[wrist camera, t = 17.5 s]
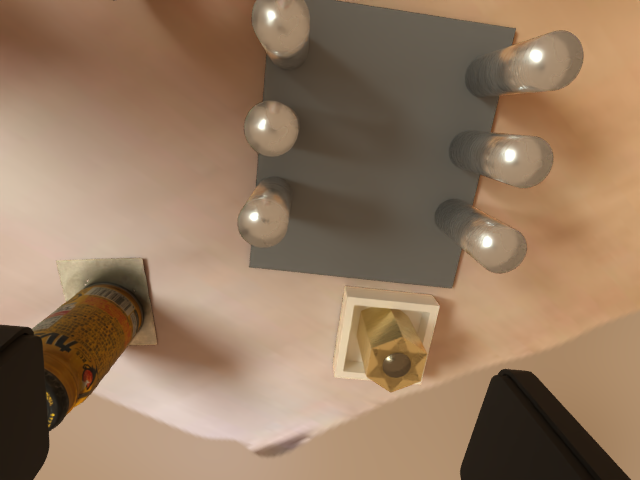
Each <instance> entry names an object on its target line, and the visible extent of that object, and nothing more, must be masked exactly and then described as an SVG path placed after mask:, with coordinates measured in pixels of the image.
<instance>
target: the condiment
mask: <svg viewBox="0 0 640 480" xmlns="http://www.w3.org/2000/svg"><path fill="white" fill-rule="evenodd" d="M56 263H57V268H58V272H59V275H60V281H61V285H62V288H63V293H64V296H65V300H66V303H64V304H63V305H61V307H59V308H58V309H57V310H56V311H54V312H53V313H52V314H51V315H49V316H48V317H47V318H46V319H44V320H43V321H42V322H40V323H39V324H37V325H36V326H35V327H34V328H33V329H32V330H33V332H34V336H39V337H40V338H41V339H42V343H43V357H44V372H45V387H46V401H47V416H48V431H51V430H52V429H53V428H55V427H56V426H58V425H59V424H60V423H61V421H62V420H63V419H64V417H65V416H66V415H67V414H68V413H69V412H70V411H71V410H72V409H73V407H75V406H77V405H79V404H80V403H82V402H83V401H84V400H85V399H86V398H87V397H88V396H89V395H90V394H91V393H92V392H93V391H94V389H95V388H96V387H97V386H98V384H99V382H100V381H101V380H102V379H103V377H104V376H105V375H106V374H107V373H108V372H109V370H110V368H111V367H112V366H113V364H114V363H115V362H116V361H117V359H118V358H119V357H120V355H121V354H122V353H123V352H124V351H125V349H126V348H127V346H128V345H157V339H156V332H155V326H154V320H153V313H152V308H151V304H150V299H149V295H148V287H147V281H146V276H145V272H144V266H143V260H142V258H117V259H113V258H111V259H86V260H61V261H56ZM87 280H89V281H88V282H86V281H87ZM85 284H87V285H86V286H85ZM134 290H135V291H134Z"/></svg>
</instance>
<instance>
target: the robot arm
mask: <svg viewBox="0 0 640 480" xmlns="http://www.w3.org/2000/svg"><path fill="white" fill-rule="evenodd" d="M48 451H49V431H48V416H47V401H46V387H45V372H44V357H43V343H42V339H41V338H40V337H39V336H34V332H33V330H32V329H31V328H29V327H20V326H9V325H0V480H33V479H34V478H35V476H36V475H37V473H38V472H39V470H40V469H41V467H42V466H43V464H44V462H45V460H46V457H47V454H48ZM460 475H461V480H631V479H630V478H629V477H628V476H627V475H626V474H625V473H624V472H623V471H622V469H621V468H620V467H619V466H618V465H617V464H616V463H615V462H614V461H613V460H612V459H611V457H610V456H609V455H608V454H607V453H606V452H605V451H604V450H603V449H602V448H601V447H600V446H599V444H598V443H597V442H596V441H595V440H594V439H593V438H592V437H591V436H590V435H589V434H588V432H587V431H586V430H585V429H584V428H583V427H582V426H581V425H580V424H579V423H578V422H577V420H576V419H575V418H574V417H573V416H572V415H571V414H570V413H569V412H568V411H567V410H566V409H565V407H563V405H562V404H561V403H560V402H559V401H558V400H557V399H556V398H555V397H554V395H552V393H551V392H550V391H549V390H548V389H547V388H546V387H545V386H544V385H543V383H542V382H541V381H540V380H539V379H538V378H537V377H536V376H535V375H534V374H533V373H532V372H529V371H522V370H510V369H503V370H501V371H500V372H499V373H498V375H495V376H493V378H492V379H491V381H490V384H489V387H488V390H487V393H486V396H485V398H484V401H483V404H482V407H481V410H480V413H479V416H478V419H477V422H476V424H475V427H474V430H473V433H472V436H471V439H470V442H469V445H468V448H467V451H466V453H465V457H464V459H463V462H462V465H461V470H460Z"/></svg>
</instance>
